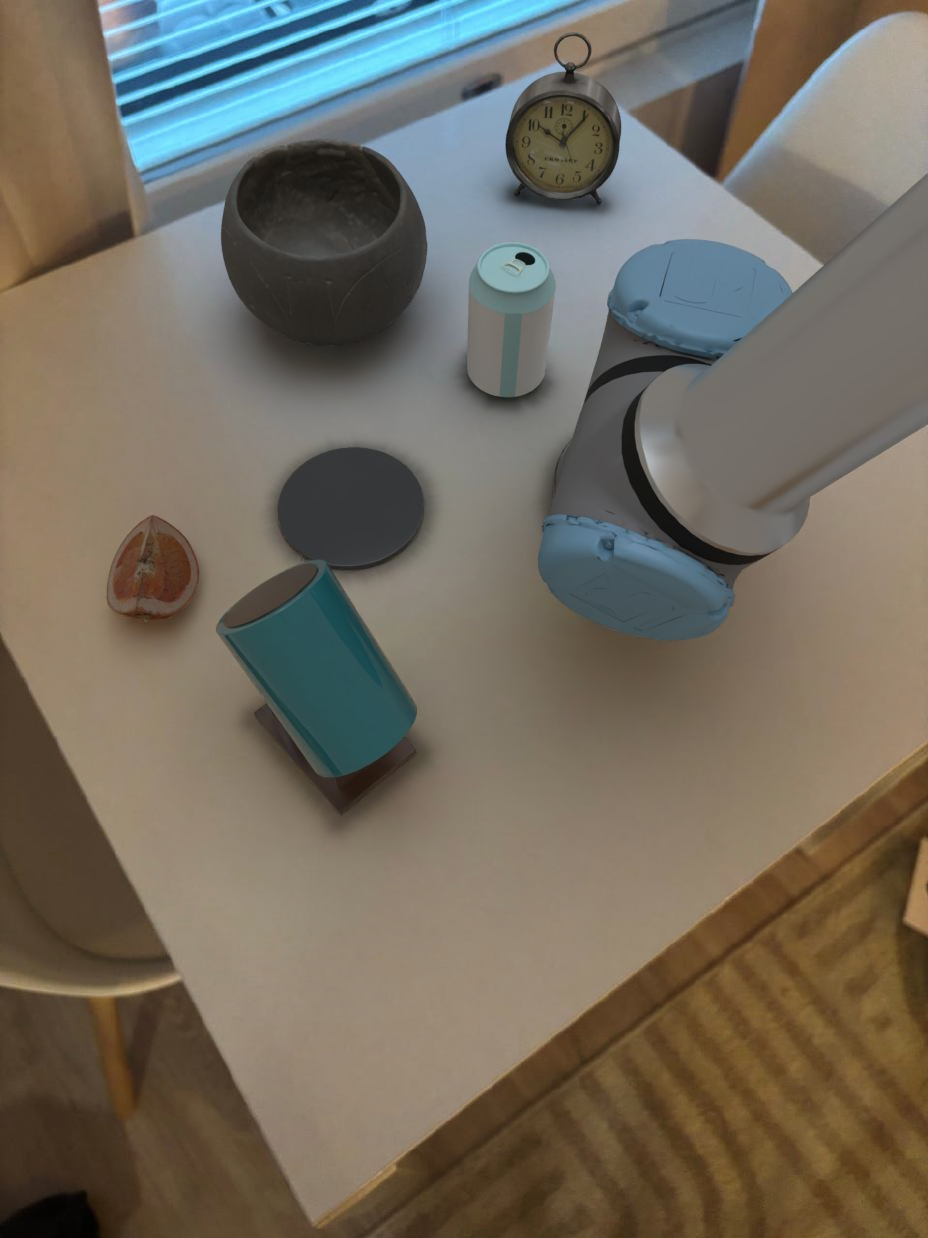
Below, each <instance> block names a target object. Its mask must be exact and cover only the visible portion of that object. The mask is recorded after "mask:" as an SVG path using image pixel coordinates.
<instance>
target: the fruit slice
mask: <svg viewBox="0 0 928 1238" xmlns="http://www.w3.org/2000/svg"><path fill="white" fill-rule="evenodd" d="M119 545H120V546H119V547H118V548H117V551H116V553H115V555H114V558H113V560H112V563H111V566H110V569H109V573H108V577H107V583H106V603H107V606H108V607H109V609H111V611H113V612H114V613H116V614H119V615H123V616H125V617H129V618H133V619H138V620H144V621H145V623H147V622H148V621H164V620H167V619H170V618H171V617H173V616H175V615H177V614H178V613H180V612H181V611H182V610H183V609H185V608H186V607H187V606H188V605H189V603H190V602H191V601H192V599H193V598H194V596H195V594H196V592H197V589H198V586H199V583H200V582H199V581H200V567H199V562H198V559H197V556H196V553H195V551H194V549H193V547H192V546H191V545H192V544H191V543H190V541H189V540H188V539H187V538H186V536H185V535H184V534H183V533H182V532H181V531H180V530H179V529H177V528H176V527H175V526H174V525H172V524H171V523H170V522H169V521H167V520H165V519H164V518H161V517H159V516H157V515H154V514H151V515H149V516H147V517H145V519H143V520H141V521H140V522H138V523H137V524H136V525H135V526H133V528H132V529H131V530H130V532H128V534H126V536H125V538H124V539H123V540H122V542H121V544H119Z"/></svg>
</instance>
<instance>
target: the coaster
mask: <svg viewBox="0 0 928 1238" xmlns="http://www.w3.org/2000/svg"><path fill="white" fill-rule="evenodd" d="M276 510H277V520H278V523H279V528H280V530H281V533H282V535H283V536H284V538H285V541H286V542H287V543H288V545H290V547H291V548H292V549H293V550H294V551H295V552H296V553H297V554H298V555H300V556H301V557H302V558H304V559H306V560H307V561H311V560H318V559H320V560H324V561H326V562H327V564H328V565H329V567H330V568H331V570H332V569H333V570H341V571H356V570H363V569H367V568H372V567H375V566H378V565H381V564H384V563H385V562H387V561H389V560H391V559H393V558H395V557H397V555H399V554H400V553H401V552H403V551H404V550H405V549H406V548H408V546H409V545H410V544H411V543H412V541H413V540H414V539H415V537H416V536H417V534H418V532H419V531H420V528H421V525H422V523H423V520H424V513H425V500H424V493H423V490H422V487H421V485H420V482H419V480H418V479H417V477H416V476H415V474H414V472H413V471H412V470H411V469H410V468H409V467H408V466H407V465H406V464H404V463H403V462H402V461H401V460H400V459H397V458H396V457H394V455H393V456H392V455H390V454H389V453H386V452H383V451H381V450H378V449H373V448H369V447H360V446H356V447H355V446H354V447H353V446H351V447H340V448H335V449H331V450H327V451H324V452H321V453H320V454H317V455H315V456H313V457H311V458H309V459H308V460H306V461H305V462H303V463H302V464H301V465H299V466H298V467H297V468H296V469H295V470H293V472H292V473H291V474H290V475H289V477H287V479H286V481H285V483H284V484H283V486H282V489H281V491H280V493H279V497H278V501H277V509H276Z"/></svg>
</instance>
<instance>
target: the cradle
mask: <svg viewBox="0 0 928 1238" xmlns="http://www.w3.org/2000/svg"><path fill="white" fill-rule="evenodd" d="M253 716H254V718H255V719H256V720H257V721H258V722H259V725H261V726H262V728H264V729H265V731H266V732H267V733H268V734H269V735H270V736H271V738H272V739H273V740H274V741H275V742H276V744H277V745H278V746H279V747H280V748H281V749H282V750H283V751H284V753H285V754H286V755H287V756H288V757H289V759H290V760H291V761H292V762H293V763H294V765H295V766H296V767H297V768H298V769H299V771H301V772H302V773H303V775H304V776H305V777H306V778H307V779H308V780H309V782H310V783H311V784H312V786H313V787H314V788H315V789H316V790H317V792H319V793H320V794H321V796H322V797H323V798H324V799H325V801H327V803H328V804H329V805H330V806H331V808H333V810H334V811H335V812H336V813H337V814H338V815H339V816H340V817H342V816H343V815H344V814H345V813H347V812H348V811H349V810H350V809H351V808H352V807H354V806H355V805H356V804H357V803H358V802H360V801H361V800H363V798H365V797H366V796H367V795H368V794H369V793H371V792H372V791H373V790H374V789H375V788H377V787H378V786H379V785H380V784H381V783H383V782H385V780H386V779H387V778H389V777H390V776H391V775H392V774H393V773H395V772H396V771H397V770H398V769H399V768H401V767H402V766H403V765H404V764H405V763H407V762H408V761H409V760H410V759H411V758H413V757H414V756H415V755H416V754H417V748H416V747H415V746H414V744H412V743H411V742H410V740H408V739H407V737H406V735H405V736H404V737H403V738H402V740H401V741H400V742H399V743H398V744H397V745H396V746H394V747H393V748H392V749H391V750H390V751H389V752H387V753H386V754H385V755H383V756H382V757H380V758H379V759H378V760H376V761H374V762H373V763H371V764H369V765H368V766H366V767H364V768H362V769H360V770H357V771H355V772H352V773H350V774H347V775H343V776H338V777H323V776H320V775H319V774H317V773H316V772H315V771H314V769H313V768H312V767H311V765H310V764H309V762H308V761H307V760H306V758H305V757H304V755H303V754H302V753H301V751H300V750H299V748H298V747H297V745H296V744H295V743H294V741H293V740H292V738H291V737H290V736H289V734H288V733H287V731H286V730H285V728H284V727H283V726H282V724H281V723H280V721H279V720H278V719H277V717H276V716H275V714H274V713H273V711H272V710H271V709H270V707H269V706H268V704H267V703H266V702H265V704H264V705H262V706H261V707H260V708H258V709H257V710H256V711H254V712H253Z"/></svg>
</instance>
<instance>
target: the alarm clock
mask: <svg viewBox="0 0 928 1238" xmlns="http://www.w3.org/2000/svg"><path fill="white" fill-rule="evenodd" d="M569 37H570V38H571V37H577V38H580V39H581V40H582V41H584V43H585V44H586V46H587V56H586V57H585V59H584V61H582V62H581V63H579V64H577V65H576V64H575V63H574V62H572V61H568V62H567V63H564V62H563V61H561V60H560V58H559V56H558V48H559V45H560V44H561V42H563V40H565V39H566V38H569ZM553 55H554V59H555V61H557V63H558V64H559V65H560V66H561V67H562V68H564V70H565V71H556V72H552V73H551V72H550V73H548V74H545V75H542V76H541V77H539V78H537V79H536V80H534V81H533V82H531V83H530V84H528V86H526V87H525V89H524V90H523V91H522V92H521V94H520V95H518V98H517V100H516V102H515V103H514V105H513V108H512V111H511V114H510V118H509V123H508V127H507V131H506V135H505V145H504V146H505V147H504V148H505V155H506V159H507V163H508V165H509V168H510V169H511V171H512V173H513V175H514V177H515V178H516V179H517V181H519V183H520V184H519V185H518V187H517V188H516V189H514V190H513V195H514V196H515V197H519V196H520V194H521V192H522V191H524V190H525V189H527V190H528V191H530V192H532V193H533V194H535V195H537V196H539V197H541V198H544V199H549V200H553V201H572V200H577V199H581V198H584V197H586V196H588V195H590V196H591V197H592V198H593V199H594V200H595V204H596V205H597V206H601V205H602V203H603V200H602V198H601V197H600V196H599V193H598V191H597V190H598V189H600V187H602V186H603V185H604V184H605V183H606V182H607V181H608V179H609V178H610V177H611V176H612V173H613V172H614V170H615V168H616V165H617V162H618V160H619V154H620V144H621V137H622V118H621V113H620V109H619V106H618V104H617V102H616V100H615V98H614V97H613V95H612V94H611V93H610V91H609V90H608V89H607V88H606V87H605V86H604V85H603V84H602V83H601V82H600V81H598V80H596V78H593V77H591V76H589V75H587V74H583V73H580V72H576V70H577V69H581V68H583V67H584V66H586V64H587V63H588V62H589V60H590V58H591V55H592V45H591V42H590V40H589V39H588V37H586V36H585V35H584V34H583V33H580V32H576V31H571V32H566V33H564V34H562V35H561V36H560V37H559V38H558V39H557V40H556V41H555V42H554V46H553Z"/></svg>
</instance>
